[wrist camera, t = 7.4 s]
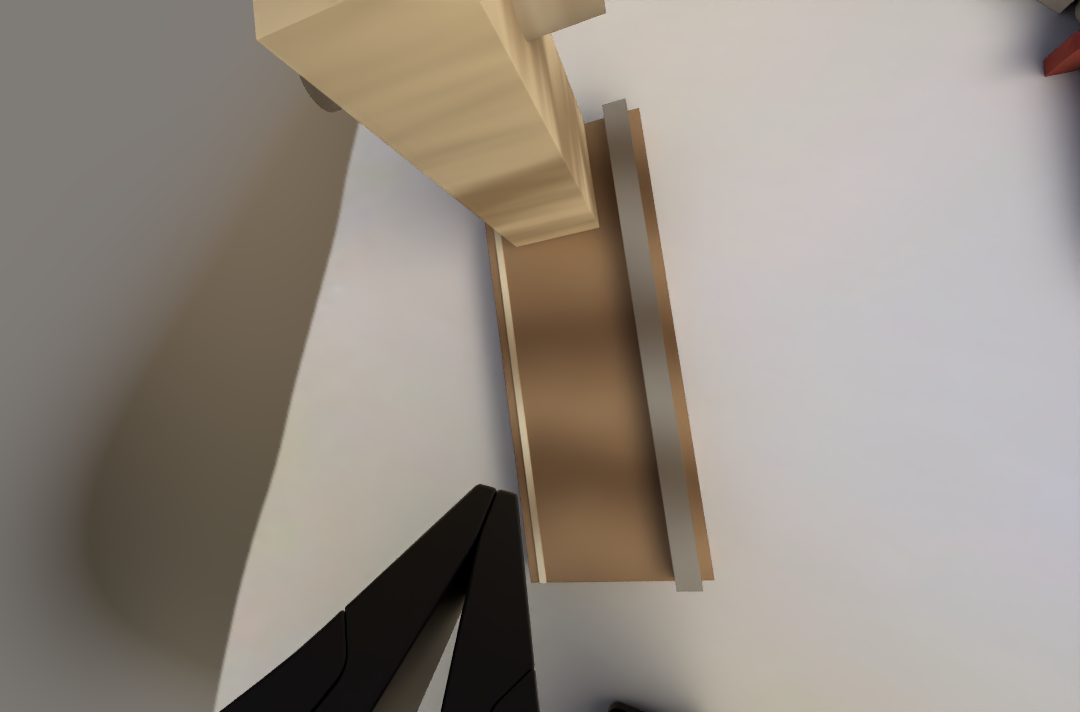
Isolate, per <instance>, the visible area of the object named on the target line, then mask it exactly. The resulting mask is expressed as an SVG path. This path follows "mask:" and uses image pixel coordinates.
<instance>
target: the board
mask: <svg viewBox="0 0 1080 712" xmlns="http://www.w3.org/2000/svg"><path fill="white" fill-rule="evenodd" d="M602 106H603V113H604V118H603V119H600V120H597V121H593V122H590V123H587V124H584V127H585V134H586V141H587V147H588V154H589V161H590V168H591V174H592V181H593V188H594V194H595V201H596V208H597V214H598V221H599V228H596V229H592V230H587V231H583V232H579V233H574V234H570V235H566V236H561V237H557V238H553V239H549V240H544V241H540V242H536V243H531V244H527V245H523V246H519V247H516V246H515V245H513V244H512V243H511V242H510V241H508V240H507V239H506V238H505V237H503V236H502V235H501V234H500V233H498V232H497V231H496V230H495V229H493V228H492V227H491V226H489V225H488V224H487V223H486V222H485V227H486V234H487V242H488V250H489V258H490V266H491V273H492V281H493V289H494V297H495V305H496V312H497V320H498V328H499V336H500V344H501V351H502V359H503V367H504V375H505V383H506V390H507V398H508V406H509V414H510V422H511V429H512V437H513V445H514V453H515V461H516V468H517V476H518V484H519V492H520V500H521V507H522V515H523V523H524V531H525V539H526V546H527V554H528V562H529V570H530V578H531V583H547V582H617V581H675V583H676V590H677V591H703V587H702V580H714V574H713V568H712V562H711V556H710V549H709V543H708V537H707V531H706V524H705V518H704V512H703V506H702V499H701V493H700V487H699V481H698V474H697V468H696V462H695V456H694V449H693V443H692V437H691V431H690V424H689V418H688V412H687V406H686V399H685V393H684V387H683V381H682V374H681V368H680V362H679V356H678V349H677V343H676V337H675V331H674V324H673V318H672V312H671V306H670V299H669V293H668V287H667V281H666V274H665V268H664V262H663V255H662V249H661V243H660V237H659V230H658V224H657V218H656V212H655V205H654V199H653V193H652V187H651V180H650V174H649V168H648V162H647V155H646V149H645V143H644V137H643V130H642V124H641V118H640V112H639V108H637V109H633V110H630V111H628V110H627V105H626V99H622V100H618V101H615V102H612V103H609V104H605V105H602Z"/></svg>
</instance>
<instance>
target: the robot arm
mask: <svg viewBox="0 0 1080 712" xmlns="http://www.w3.org/2000/svg"><path fill="white" fill-rule="evenodd" d="M461 611H462V613H461ZM460 613H461V618H460V623H459V627H458V632H457V637H456V642H455V646H454V651H453V656H452V660H451V665H450V670H449V675H448V679H447V684H446V689H445V693H444V698H443V703H442V708H441V712H540V708H539V700H538V692H537V682H536V672H535V670H533V669H534V666H535V664H534V655H533V645H532V635H531V625H530V615H529V606H528V596H527V586H526V576H525V566H524V557H523V547H522V537H521V527H520V517H519V508H518V498H517V495H516V494H514V493H511V492H507V491H504V490H498V491H497V490H496V489H495V488H493V487H490V486H486V485H482V484H478V485H476V486H475V487H474V488H473V489H472V490H471V491H469V492H468V493H467V494H466V495H465V496H464V497H463V498H462V499H461V500H460V501H459V502H458V503H457V504H455V505H454V506H453V507H452V508H451V509H450V510H449V511H448V512H447V513H446V514H445V515H444V516H443V517H442V518H440V519H439V520H438V521H437V522H436V523H435V524H434V525H433V526H432V527H431V528H430V529H429V530H428V531H426V532H425V533H424V534H423V535H422V536H421V537H420V538H419V539H418V540H417V541H416V542H415V543H414V544H412V545H411V546H410V547H409V548H408V549H407V550H406V551H405V552H404V553H403V554H402V555H401V556H400V557H399V558H397V559H396V560H395V561H394V562H393V563H392V564H391V565H390V566H389V567H388V568H387V569H386V570H385V571H383V572H382V573H381V574H380V575H379V576H378V577H377V578H376V579H375V580H374V581H373V582H372V583H371V584H370V585H368V586H367V587H366V588H365V589H364V590H363V591H362V592H361V593H360V594H359V595H358V596H357V597H356V598H354V599H353V600H352V601H351V602H350V603H349V604H348V605H347V606H346V607H345V611H343V610H342V611H340V612H339V613H338V614H337V615H336V616H335V617H334V618H333V619H332V620H331V621H329V622H328V623H327V624H326V625H325V626H324V627H323V628H322V629H321V630H320V631H319V632H317V633H316V634H315V635H314V636H313V637H312V638H311V639H309V640H308V641H307V642H306V643H305V644H304V645H303V646H302V647H300V648H299V649H298V650H297V651H296V652H295V653H294V654H292V655H291V656H290V657H289V658H287V659H286V660H285V661H284V662H282V663H281V664H280V665H279V666H277V667H276V668H275V669H274V670H272V671H271V672H270V673H269V674H267V675H266V676H265V677H264V678H262V679H261V680H260V681H259V682H257V683H256V684H255V685H253V686H252V687H251V688H249V689H248V690H247V691H246V692H244V693H243V694H242V695H240V696H239V697H238V698H237V699H235V700H234V701H233V702H231V703H230V704H229V705H227V706H226V707H225V708H224V709H222V710H221V711H220V712H417V710H418V708H419V706H420V704H421V701H422V699H423V697H424V695H425V692H426V690H427V688H428V686H429V683H430V681H431V679H432V677H433V674H434V672H435V670H436V668H437V665H438V663H439V661H440V658H441V656H442V654H443V652H444V649H445V647H446V645H447V643H448V640H449V638H450V636H451V634H452V631H453V629H454V627H455V625H456V622H457V620H458V618H459V616H460ZM608 712H643V711H640V710H638V709H636V708H633V707H631V706H628V705H626V704H624V703H621V702H614V703H612V704H611V705H610V707H609V710H608Z"/></svg>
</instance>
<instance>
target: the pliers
mask: <svg viewBox="0 0 1080 712" xmlns="http://www.w3.org/2000/svg"><path fill="white" fill-rule="evenodd" d="M1038 1H1040V2H1041V3H1042V4H1043V5H1045V6H1047V7H1048V8H1050V9H1052V10H1053V11H1055V12H1057V13H1058V14H1059V13H1060V12H1062V11H1063V10H1064V9H1065V8H1066V7H1067V6H1068V5H1070V4H1071V3H1072V2H1073V1H1074V0H1038ZM1075 16H1076V19H1077V20H1078V22H1079V24H1080V0H1078V2H1077V4H1076V8H1075ZM1043 62H1044V70H1045V77H1046V76H1052V75H1057V74H1062V73H1067V72H1073V71H1078V70H1080V30H1079V31H1078V32H1076V33H1075V34H1073V35H1072V36H1071V37H1070V38H1068V39H1067V40H1066V41H1065V42H1064V43H1063V44H1062V45H1060V46H1059V47H1058V48H1057V49H1056V50H1055V51H1053V52H1052V53H1051V54H1050V55H1049V56H1048V57H1046V58H1045V59H1044V61H1043Z"/></svg>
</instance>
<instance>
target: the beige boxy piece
mask: <svg viewBox="0 0 1080 712" xmlns="http://www.w3.org/2000/svg"><path fill="white" fill-rule="evenodd" d="M253 7H254V19H255V30H256V40H257V41H258V42H260V43H261V44H262V45H263V46H265V47H266V48H267V49H268V50H270V51H271V52H272V53H273V54H275V55H276V56H277V57H278V58H280V59H281V60H282V61H283V62H285V63H286V64H287V65H288V66H290V67H291V68H292V69H293V70H295V71H296V72H297V73H298V74H299V75H300V78H301V80H302V83H303V85H304V87H305V88H306V90H307V92H308V93H309V94H310V96H311V97H312V99H313V100H314V101H315V102H316V103H317V104H318V105H319V106H320V107H321V108H322V109H324V110H326V111H328V112H336V111H338V110H341V109H344V110H345V111H346V112H347V113H349V114H350V115H351V116H352V117H354V118H355V119H356V120H358V121H359V122H360V123H361V124H363V125H364V126H365V127H366V128H368V129H369V130H370V131H371V132H373V133H374V134H375V135H376V136H378V137H379V138H380V139H381V140H383V141H384V142H385V143H386V144H388V145H389V146H390V147H391V148H393V149H394V150H395V151H396V152H398V153H399V154H400V155H401V156H403V157H404V158H405V159H407V160H408V161H409V162H410V163H412V164H413V165H414V166H415V167H417V168H418V169H419V170H420V171H422V172H423V173H424V174H425V175H427V176H428V177H429V178H430V179H432V180H433V181H434V182H435V183H437V184H438V185H439V186H440V187H442V188H443V189H444V190H445V191H447V192H448V193H449V194H451V195H452V196H453V197H454V198H456V199H457V200H458V201H459V202H461V203H462V204H463V205H464V206H466V207H467V208H468V209H469V210H471V211H472V212H473V213H474V214H476V215H477V216H478V217H479V218H481V219H482V220H483V221H484V222H486V223H487V224H488V225H489V226H491V227H492V228H493V229H495V230H496V231H497V232H498V233H500V234H501V235H502V236H503V237H505V238H506V239H507V240H508V241H510V242H511V243H512V244H513V245H515V246H516V247H519V246H523V245H527V244H531V243H536V242H540V241H544V240H549V239H553V238H557V237H561V236H566V235H570V234H574V233H579V232H583V231H587V230H592V229H596V228H599V221H598V214H597V208H596V201H595V194H594V188H593V181H592V174H591V168H590V161H589V154H588V147H587V141H586V134H585V127H584V122H583V119H582V116H581V114H580V111H579V108H578V106H577V103H576V100H575V97H574V95H573V92H572V89H571V87H570V84H569V81H568V79H567V76H566V73H565V70H564V68H563V65H562V62H561V60H560V57H559V54H558V52H557V49H556V46H555V44H554V41H553V38H552V35H551V33H552V32H555V31H558V30H561V29H563V28H566V27H569V26H572V25H574V24H577V23H580V22H583V21H585V20H588V19H591V18H593V17H596V16H599V15H602V14H604V13H606V10H605V3H604V0H253Z"/></svg>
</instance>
